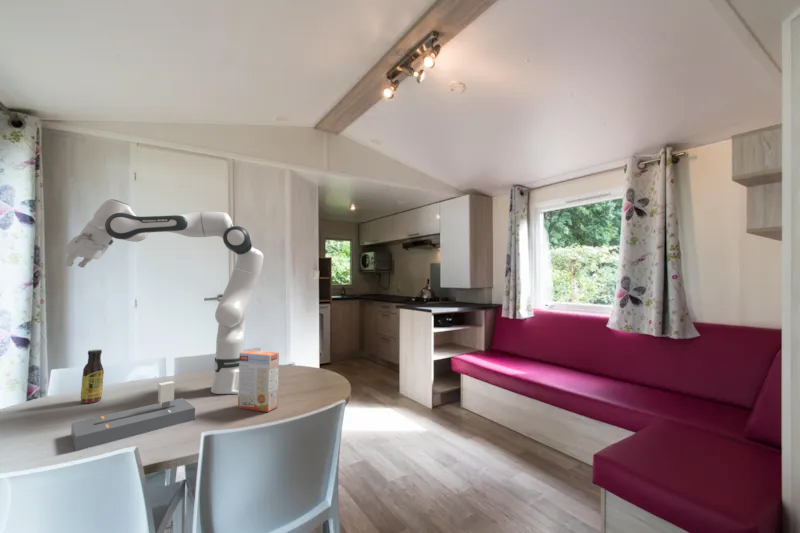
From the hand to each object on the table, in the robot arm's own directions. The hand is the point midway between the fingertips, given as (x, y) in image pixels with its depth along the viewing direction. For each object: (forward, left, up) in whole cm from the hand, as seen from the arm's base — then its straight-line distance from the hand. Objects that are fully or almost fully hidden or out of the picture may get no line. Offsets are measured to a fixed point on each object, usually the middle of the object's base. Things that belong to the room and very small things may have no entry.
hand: (74, 266), depth 132 cm
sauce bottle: (-7, +1, -53) cm, 54 cm away
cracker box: (-49, +54, -53) cm, 90 cm away
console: (-14, +42, -53) cm, 69 cm away
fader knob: (-22, +42, -49) cm, 68 cm away
